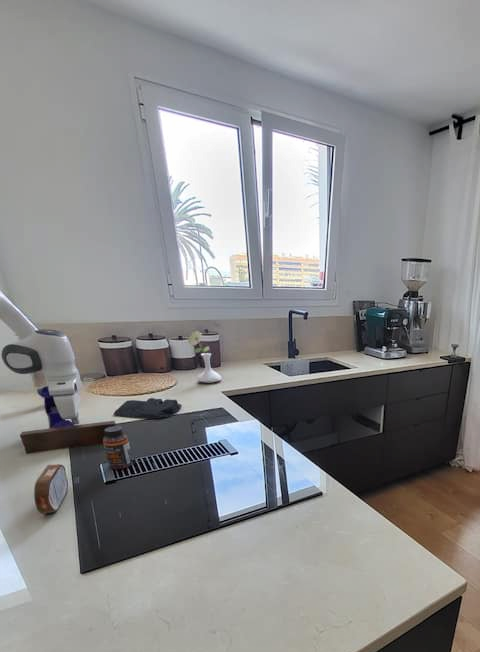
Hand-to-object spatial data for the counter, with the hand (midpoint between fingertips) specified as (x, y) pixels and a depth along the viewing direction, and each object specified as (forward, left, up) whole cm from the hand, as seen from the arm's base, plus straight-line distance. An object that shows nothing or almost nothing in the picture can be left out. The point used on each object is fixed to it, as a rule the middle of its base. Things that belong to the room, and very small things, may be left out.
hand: (76, 423), depth 130 cm
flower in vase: (+50, +53, -4) cm, 73 cm away
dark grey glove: (+22, +15, -4) cm, 27 cm away
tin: (0, -48, -4) cm, 48 cm away
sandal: (-4, +1, -4) cm, 6 cm away
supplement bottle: (+13, -33, -4) cm, 35 cm away
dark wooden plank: (0, -11, -4) cm, 11 cm away
